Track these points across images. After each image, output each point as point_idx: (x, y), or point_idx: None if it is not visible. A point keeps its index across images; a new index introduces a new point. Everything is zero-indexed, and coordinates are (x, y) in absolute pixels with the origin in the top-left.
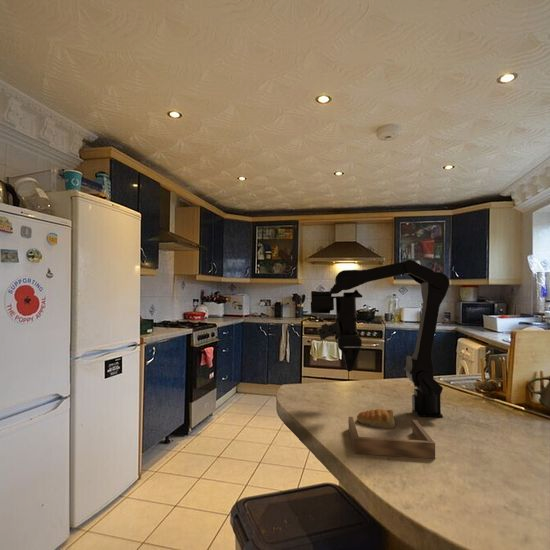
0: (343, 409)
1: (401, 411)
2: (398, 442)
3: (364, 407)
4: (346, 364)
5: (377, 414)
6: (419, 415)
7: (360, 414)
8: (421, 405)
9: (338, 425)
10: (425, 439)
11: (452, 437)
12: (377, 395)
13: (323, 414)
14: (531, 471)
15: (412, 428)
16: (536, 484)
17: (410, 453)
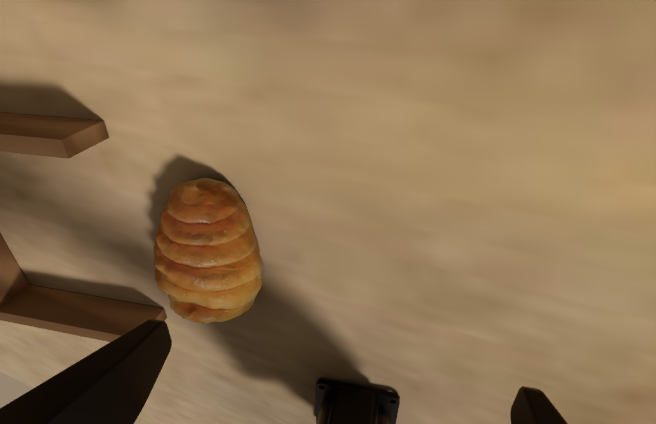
0: (378, 142)
1: (371, 355)
2: None
3: (420, 250)
4: (70, 367)
5: (158, 262)
6: (317, 381)
7: (178, 201)
8: (326, 420)
9: (130, 81)
10: (22, 310)
11: (171, 372)
12: (643, 360)
13: (267, 6)
14: None
15: (153, 318)
16: (20, 376)
17: None
